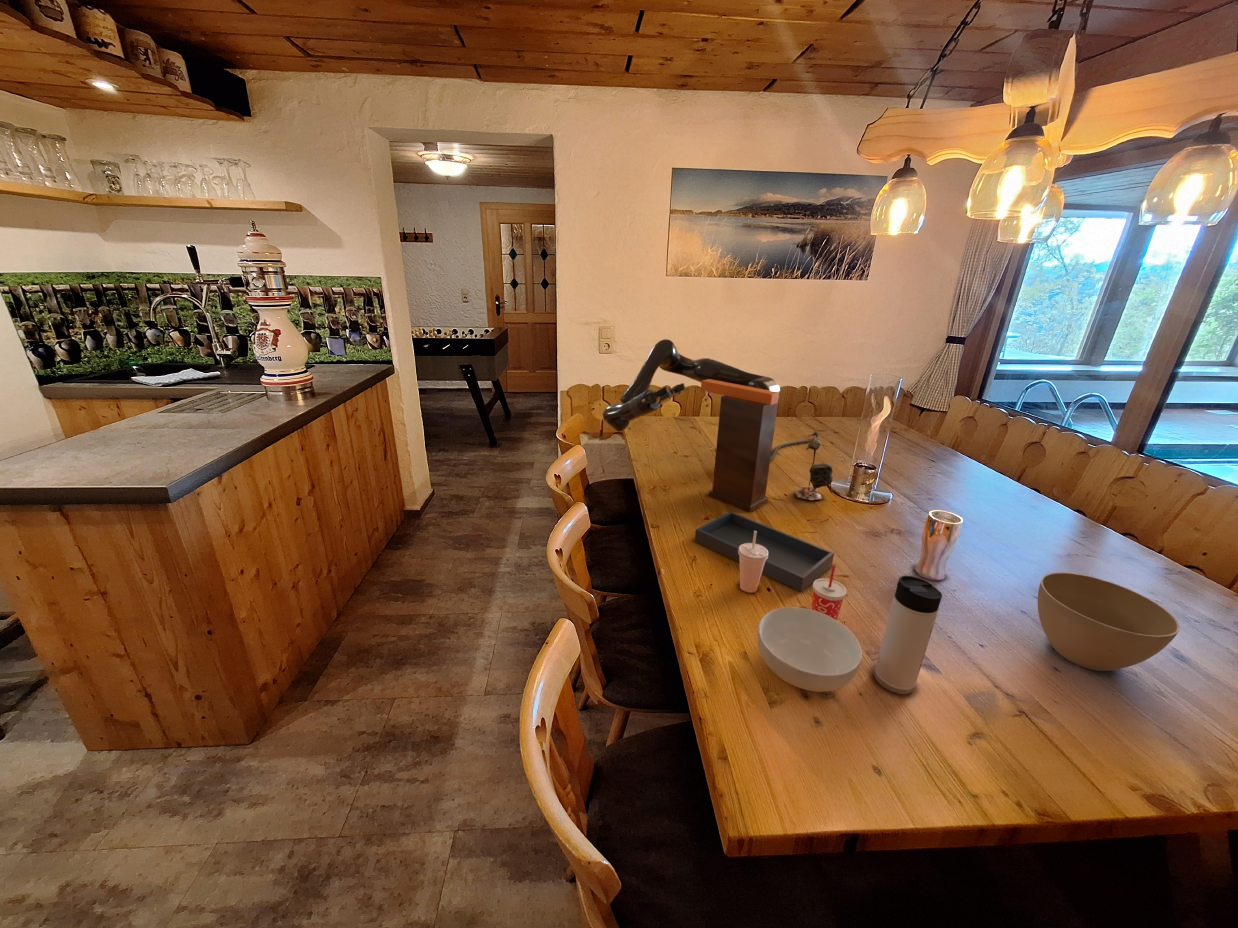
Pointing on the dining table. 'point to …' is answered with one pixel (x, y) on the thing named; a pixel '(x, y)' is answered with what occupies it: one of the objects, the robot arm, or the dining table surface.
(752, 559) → the smoothie
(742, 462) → the stand
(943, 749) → the dining table surface
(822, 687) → the cereal bowl
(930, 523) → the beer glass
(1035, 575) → the dining table surface
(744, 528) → the tray
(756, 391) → the orange bar
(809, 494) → the plant with pod
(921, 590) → the travel mug
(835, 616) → the beverage cup
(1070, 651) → the brown slanted bowl
